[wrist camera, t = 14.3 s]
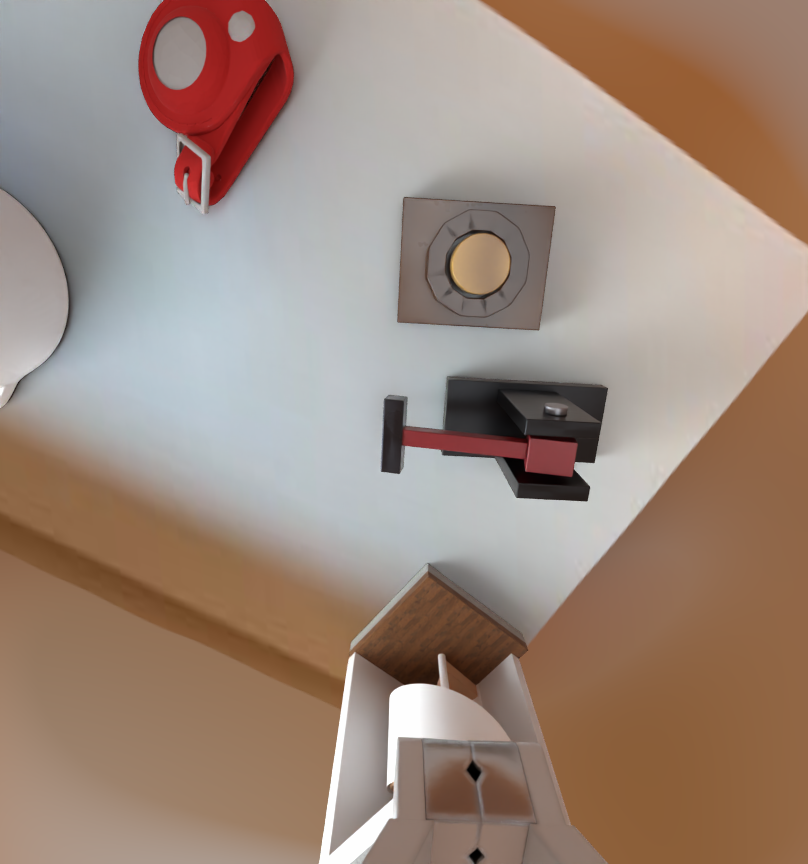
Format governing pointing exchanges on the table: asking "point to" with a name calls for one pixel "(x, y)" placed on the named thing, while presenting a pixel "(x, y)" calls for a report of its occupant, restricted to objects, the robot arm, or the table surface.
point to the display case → (421, 700)
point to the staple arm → (471, 444)
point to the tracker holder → (214, 86)
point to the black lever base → (529, 425)
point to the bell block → (431, 252)
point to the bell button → (480, 264)
